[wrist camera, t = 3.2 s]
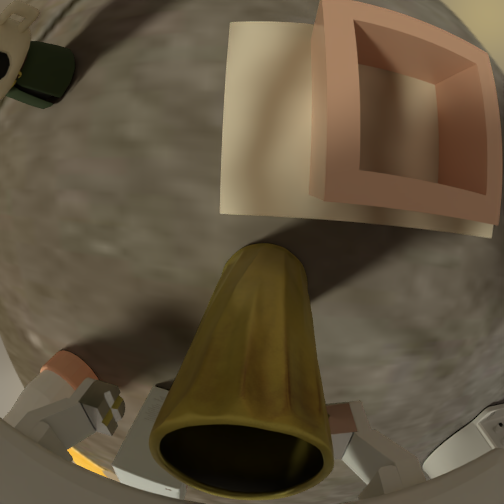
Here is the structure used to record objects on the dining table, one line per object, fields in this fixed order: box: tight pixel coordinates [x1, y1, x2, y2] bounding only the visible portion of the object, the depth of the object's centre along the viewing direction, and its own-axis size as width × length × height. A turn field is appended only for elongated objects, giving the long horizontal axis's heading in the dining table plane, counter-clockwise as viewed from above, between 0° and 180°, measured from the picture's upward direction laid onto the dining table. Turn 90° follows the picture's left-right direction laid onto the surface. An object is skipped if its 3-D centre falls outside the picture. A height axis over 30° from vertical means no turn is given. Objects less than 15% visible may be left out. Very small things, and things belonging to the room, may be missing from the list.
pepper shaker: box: [3, 350, 98, 428], centre depth 15 cm, size 7×7×19 cm
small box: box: [112, 386, 188, 500], centre depth 19 cm, size 8×6×10 cm
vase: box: [149, 243, 334, 500], centre depth 12 cm, size 6×6×14 cm
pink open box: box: [309, 0, 503, 226], centre depth 12 cm, size 11×11×6 cm
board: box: [220, 22, 493, 238], centre depth 15 cm, size 22×14×1 cm, turn 88°
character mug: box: [0, 0, 75, 109], centre depth 10 cm, size 11×7×13 cm, turn 114°
